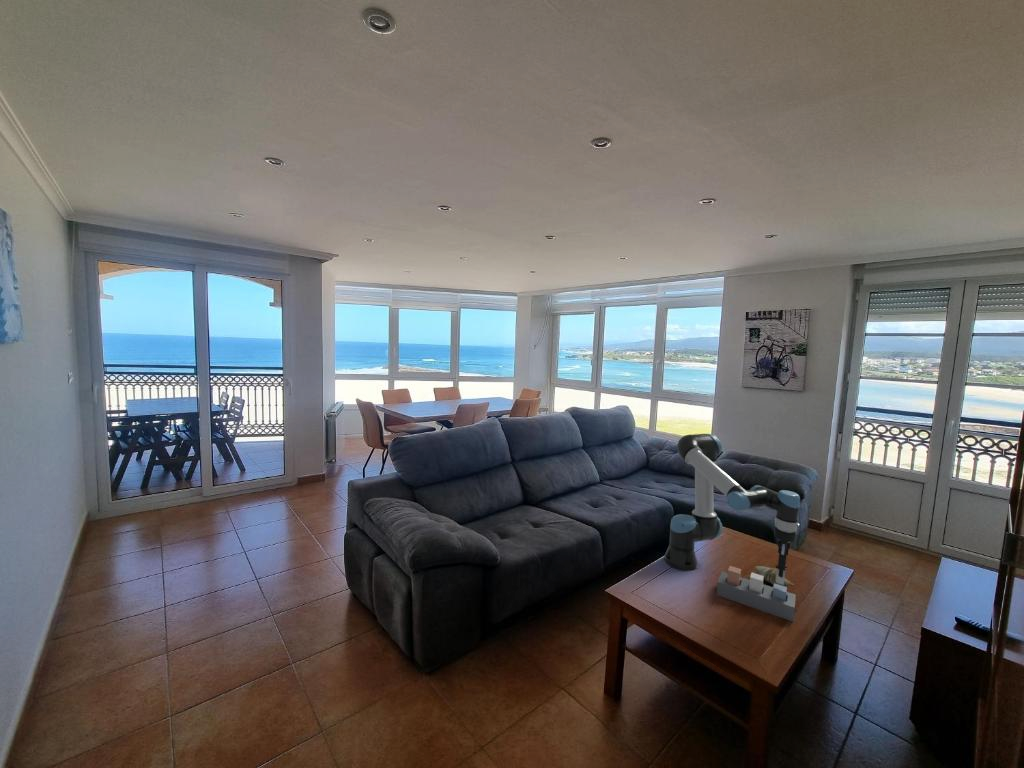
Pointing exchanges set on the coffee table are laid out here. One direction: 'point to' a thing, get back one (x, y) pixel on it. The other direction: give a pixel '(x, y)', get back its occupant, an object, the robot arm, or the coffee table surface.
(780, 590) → the blue key
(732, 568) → the salmon brown block
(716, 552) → the coffee table surface
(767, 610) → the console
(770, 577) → the seashell
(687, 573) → the coffee table surface
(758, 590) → the white key
